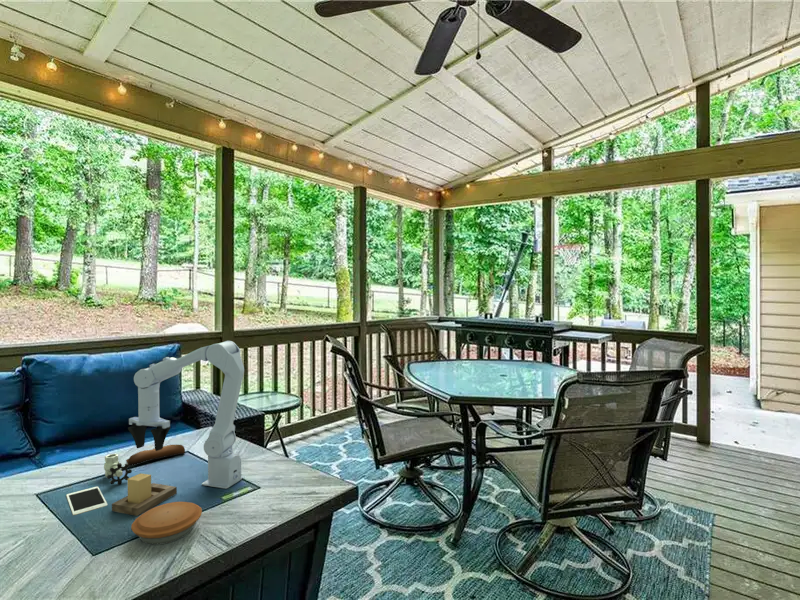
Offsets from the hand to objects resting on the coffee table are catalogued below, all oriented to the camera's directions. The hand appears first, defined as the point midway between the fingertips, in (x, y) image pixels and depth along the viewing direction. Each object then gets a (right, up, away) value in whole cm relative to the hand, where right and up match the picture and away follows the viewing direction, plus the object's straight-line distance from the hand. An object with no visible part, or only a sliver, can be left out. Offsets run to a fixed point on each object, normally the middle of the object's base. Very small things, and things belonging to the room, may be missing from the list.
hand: (149, 448), depth 134 cm
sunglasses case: (-9, -11, +20) cm, 24 cm away
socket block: (+7, -11, -13) cm, 18 cm away
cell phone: (-11, -11, -12) cm, 20 cm away
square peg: (+6, -11, -15) cm, 20 cm away
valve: (-12, -11, +2) cm, 17 cm away
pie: (+21, -11, -29) cm, 37 cm away
